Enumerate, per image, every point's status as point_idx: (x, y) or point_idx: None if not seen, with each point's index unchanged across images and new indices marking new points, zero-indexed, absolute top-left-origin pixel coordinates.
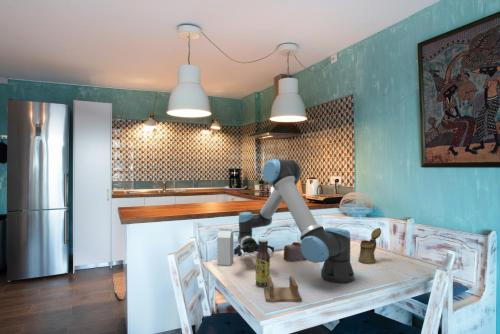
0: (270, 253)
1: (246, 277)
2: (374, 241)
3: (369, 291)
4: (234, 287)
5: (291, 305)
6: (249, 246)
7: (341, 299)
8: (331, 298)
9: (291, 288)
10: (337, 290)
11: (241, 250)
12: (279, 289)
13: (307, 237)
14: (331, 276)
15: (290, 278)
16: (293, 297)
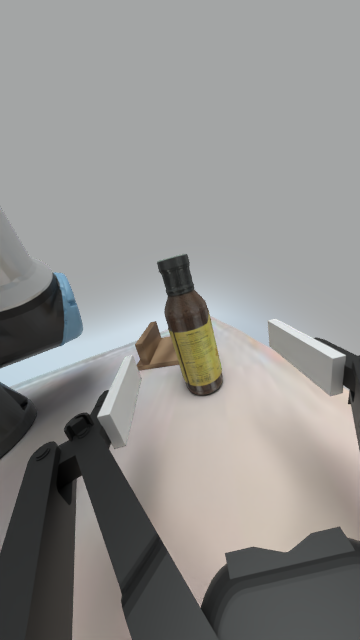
0: (134, 372)
1: (275, 441)
2: None
3: (34, 378)
4: (279, 362)
5: (169, 334)
6: (358, 559)
7: (98, 354)
8: (108, 354)
9: (153, 345)
10: (73, 376)
11: (315, 342)
12: (172, 355)
13: (62, 273)
14: (28, 400)
15: (146, 337)
16: (160, 340)
